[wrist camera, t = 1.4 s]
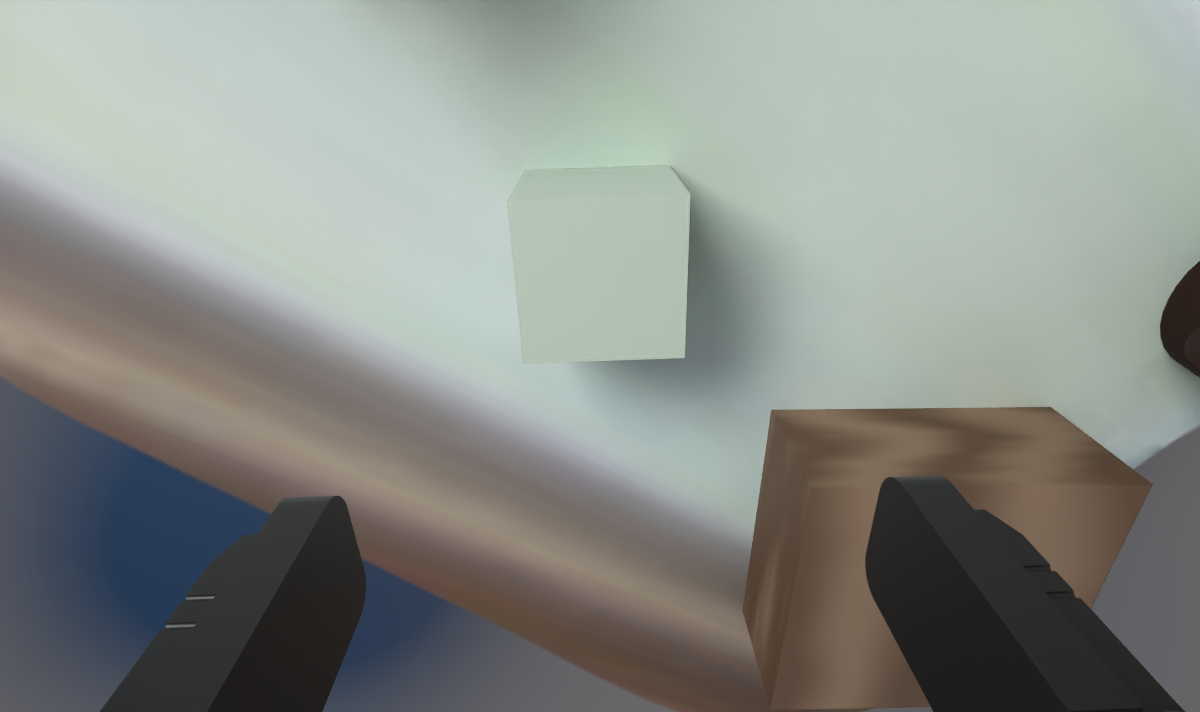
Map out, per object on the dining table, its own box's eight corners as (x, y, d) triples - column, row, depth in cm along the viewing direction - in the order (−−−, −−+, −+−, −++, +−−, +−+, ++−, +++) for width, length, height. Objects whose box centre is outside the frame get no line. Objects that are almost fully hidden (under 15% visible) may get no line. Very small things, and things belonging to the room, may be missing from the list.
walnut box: (1045, 403, 28) (1152, 484, 23) (971, 602, 34) (1043, 704, 29) (769, 406, 28) (812, 489, 23) (741, 606, 34) (770, 710, 29)
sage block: (668, 164, 23) (690, 194, 18) (666, 299, 26) (684, 358, 21) (524, 169, 23) (507, 200, 18) (535, 304, 26) (523, 363, 21)
